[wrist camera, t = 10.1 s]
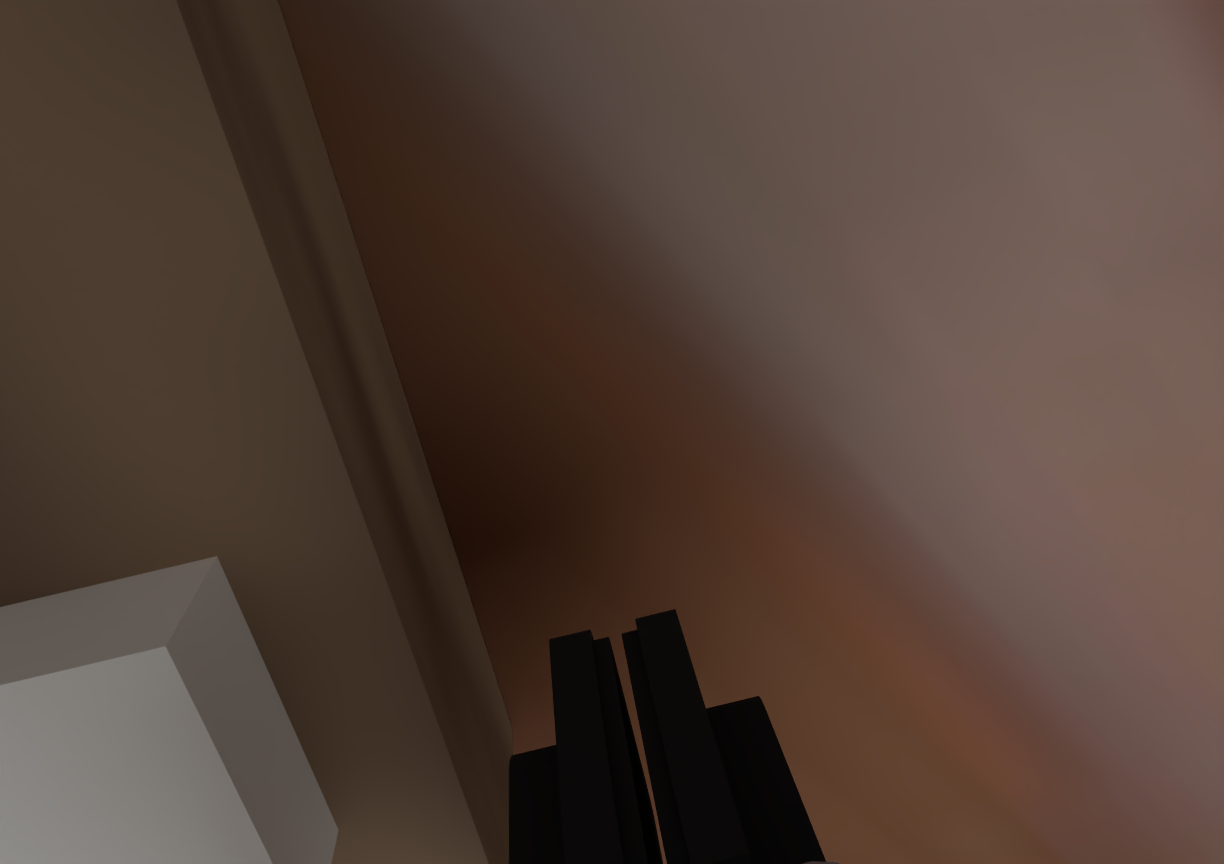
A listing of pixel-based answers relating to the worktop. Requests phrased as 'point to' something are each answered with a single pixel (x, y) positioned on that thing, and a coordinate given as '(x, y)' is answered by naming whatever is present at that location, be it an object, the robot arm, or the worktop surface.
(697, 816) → the robot arm
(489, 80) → the worktop surface
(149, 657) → the tile
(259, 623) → the tan slab
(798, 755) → the worktop surface
